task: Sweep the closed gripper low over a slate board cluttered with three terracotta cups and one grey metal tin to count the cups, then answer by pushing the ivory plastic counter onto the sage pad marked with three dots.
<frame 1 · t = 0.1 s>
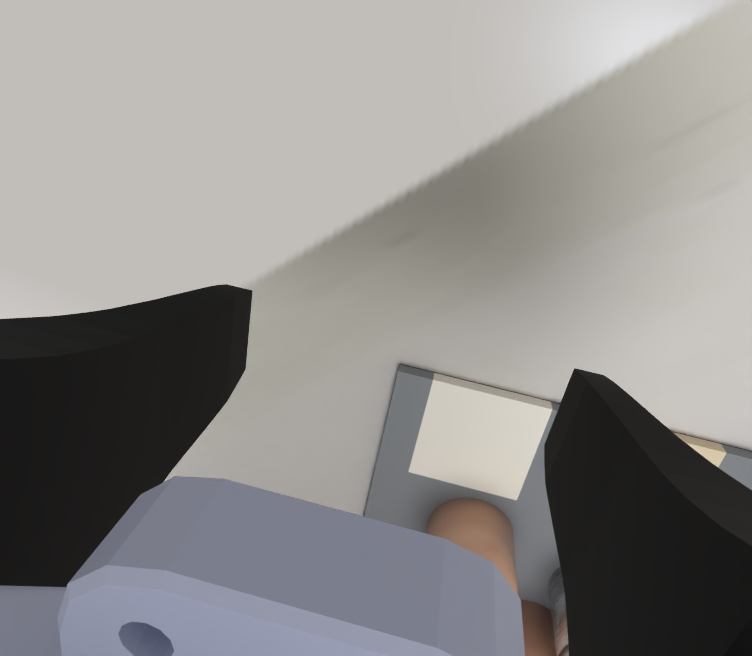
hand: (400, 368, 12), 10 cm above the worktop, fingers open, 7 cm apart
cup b: (520, 627, 28), point 1 cm above the worktop, touching board
board: (594, 555, 26), on the worktop
tin: (596, 590, 26), point 1 cm above the worktop, touching board
cup c: (469, 531, 26), point 1 cm above the worktop, touching board
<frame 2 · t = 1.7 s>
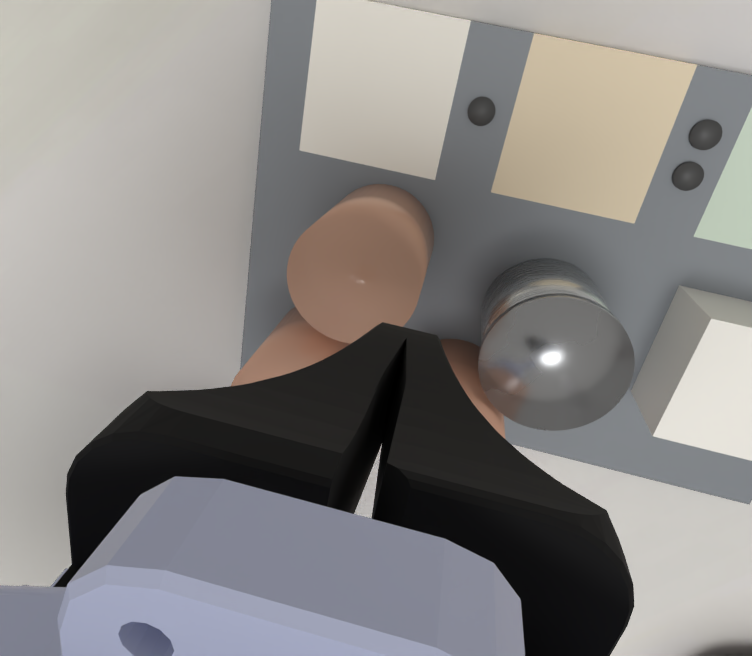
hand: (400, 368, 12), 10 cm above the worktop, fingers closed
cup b: (451, 382, 23), point 1 cm above the worktop, touching board
board: (537, 269, 21), on the worktop
tin: (540, 314, 21), point 1 cm above the worktop, touching board
counter: (715, 355, 20), point 1 cm above the worktop, touching board
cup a: (323, 344, 23), point 1 cm above the worktop, touching board
cup c: (380, 238, 21), point 1 cm above the worktop, touching board
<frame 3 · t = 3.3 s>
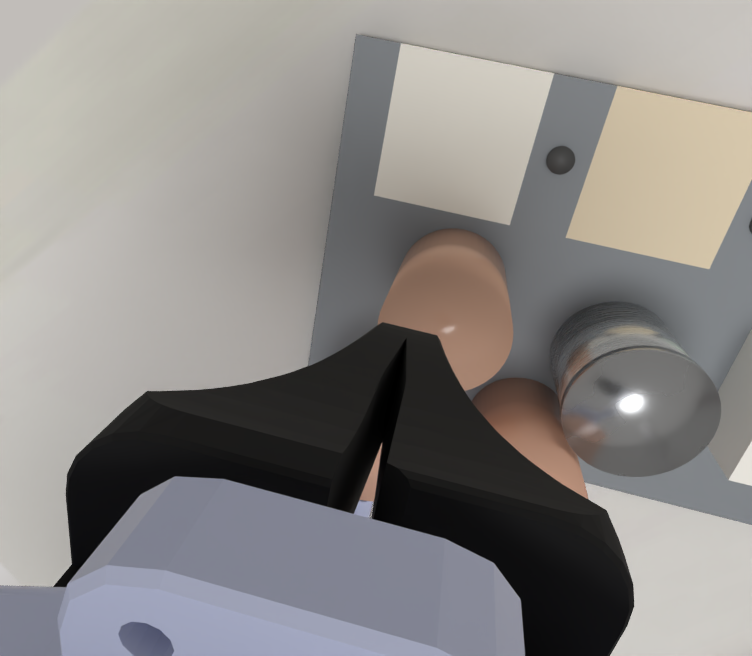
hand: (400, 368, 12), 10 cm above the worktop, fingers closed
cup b: (516, 419, 23), point 1 cm above the worktop, touching board
board: (607, 310, 21), on the worktop
tin: (609, 355, 21), point 1 cm above the worktop, touching board
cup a: (388, 381, 23), point 1 cm above the worktop, touching board
cup c: (451, 280, 21), point 1 cm above the worktop, touching board
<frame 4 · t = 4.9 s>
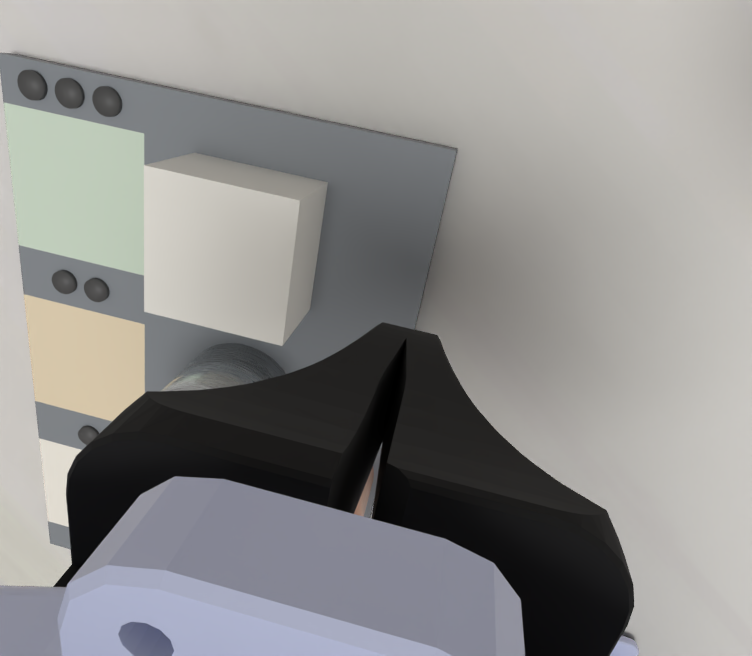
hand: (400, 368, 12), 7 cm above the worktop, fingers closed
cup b: (325, 468, 22), point 1 cm above the worktop, touching board
board: (210, 387, 22), on the worktop
tin: (240, 393, 21), point 1 cm above the worktop, touching board
counter: (254, 234, 19), point 1 cm above the worktop, touching board
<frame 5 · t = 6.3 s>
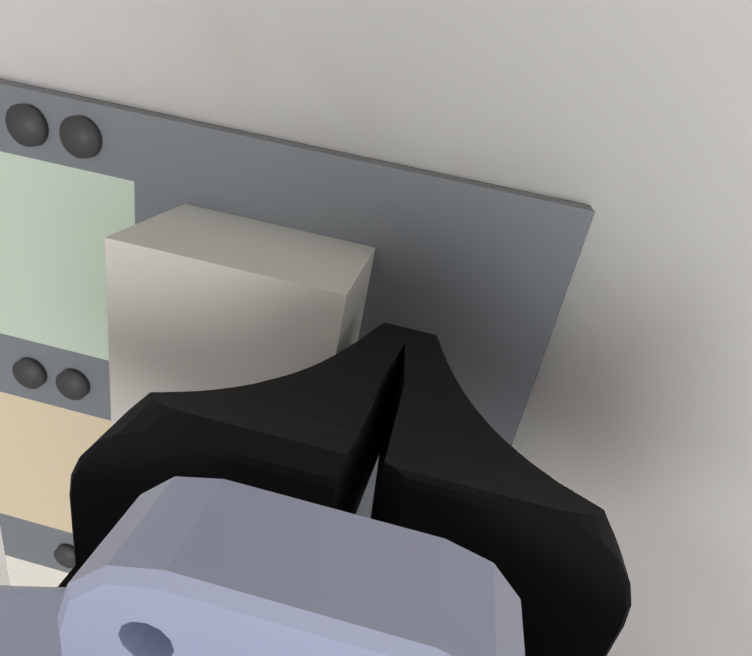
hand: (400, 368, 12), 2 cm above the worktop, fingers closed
board: (225, 501, 17), on the worktop
counter: (269, 314, 13), point 1 cm above the worktop, touching board, gripper
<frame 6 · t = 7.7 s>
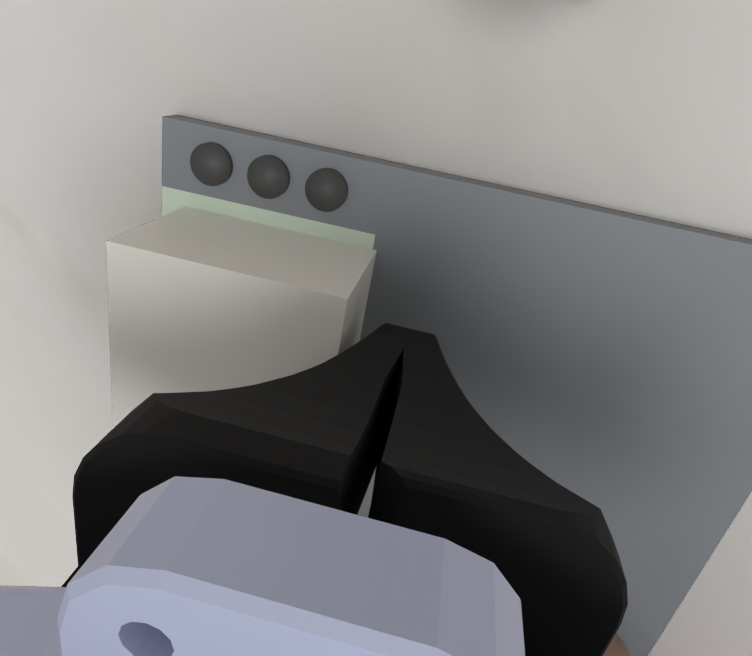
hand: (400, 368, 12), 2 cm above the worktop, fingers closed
board: (402, 549, 17), on the worktop
counter: (270, 316, 13), point 1 cm above the worktop, touching board, gripper
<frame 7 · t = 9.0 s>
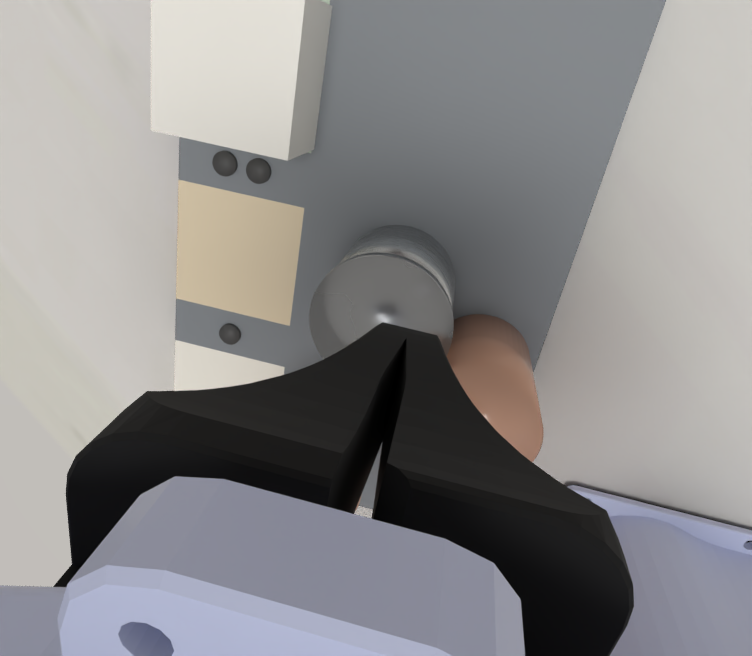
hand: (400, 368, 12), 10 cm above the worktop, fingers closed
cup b: (478, 360, 22), point 1 cm above the worktop, touching board
board: (361, 279, 22), on the worktop
tin: (397, 281, 21), point 1 cm above the worktop, touching board
counter: (259, 68, 19), point 1 cm above the worktop, touching board
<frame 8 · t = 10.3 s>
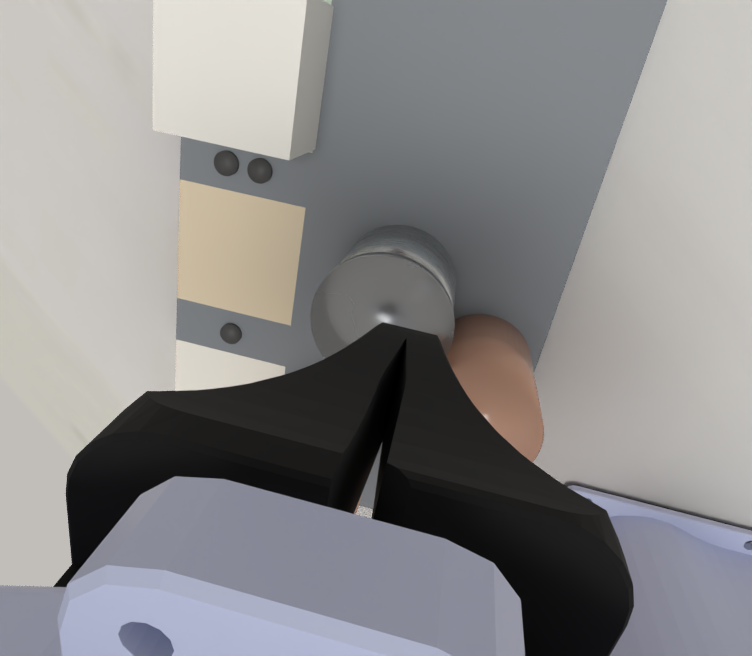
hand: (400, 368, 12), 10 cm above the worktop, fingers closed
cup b: (478, 360, 22), point 1 cm above the worktop, touching board
board: (361, 279, 22), on the worktop
tin: (398, 281, 21), point 1 cm above the worktop, touching board
counter: (261, 68, 19), point 1 cm above the worktop, touching board
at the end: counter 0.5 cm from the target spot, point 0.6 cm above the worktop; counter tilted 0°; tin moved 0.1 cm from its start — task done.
